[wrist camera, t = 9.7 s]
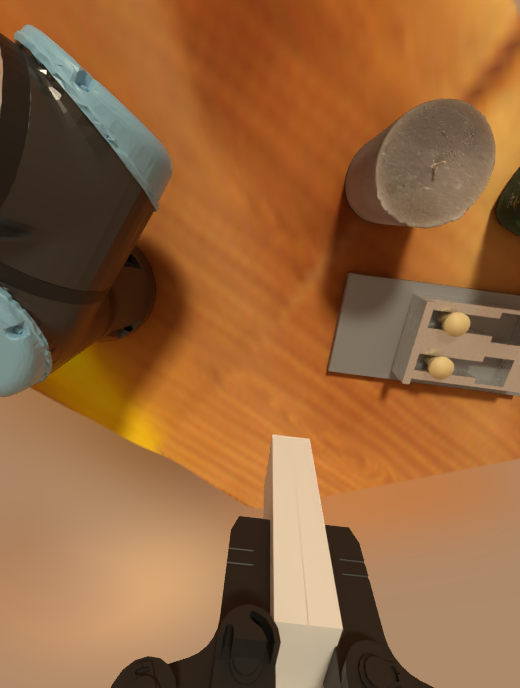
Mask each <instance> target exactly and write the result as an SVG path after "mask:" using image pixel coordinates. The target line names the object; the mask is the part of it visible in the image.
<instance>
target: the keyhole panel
mask: <svg viewBox="0 0 520 688" xmlns="http://www.w3.org/2000/svg"><path fill="white" fill-rule="evenodd" d="M433 310H438V311H445V312H461V313H463V314H468V315H475V316H483V317H490V318H498V319H500V317H501V314H502V313H509V314H516V315H520V308H515V307H508V306H500V305H493V304H485V303H478V302H470V301H463V300H455V299H447V298H440V297H432V296H425V295H417V294H413V297H412V301H411V304H410V308H409V311H408V314H407V318H406V321H405V325H404V328H403V332H402V335H401V338H400V342H399V345H398V349H397V352H396V355H395V359H394V362H393V366H392V369H391V370H392V371H393V373H394V374H395V375H396V376H397V378H398V379H399V380H400V382H401V383H403V384H410V381H411V379H419V380H426V381H434V382H442V383H449V384H457V385H464V386H472V387H480V388H487V389H495V390H503V391H510V392H518V393H520V317H519V319H518V322H517V324H516V326H515V329H514V331H513V334H512V336H511V338H510V341H509V340H502V339H494V338H492V337H493V336H491V335H489V334H487V333H485V332H483V331H478V330H470V329H468V331H467V332H466V333H465V334H463V335H461V336H458V337H453V336H450V335H448V334H447V333H445V332H444V330H443V328H442V326H440V325H432V324H429V322H430V319H431V316H432V313H433ZM419 354H426V355H433V356H445V357H449V358H456V359H464V360H471V361H479V362H483V360H484V357H493V358H500V359H502V360H501V362H500V365H499V367H498V369H497V372H496V374H495V376H494V379H493V380H491V379H483V378H475V377H474V376H473V375H472V374H470V373H469V372H468V371H463V370H455V369H454V371H453V373H452V374H451V375H450V376H449V377H448V378H445V379H441V380H439V379H435V378H434V377H432V376H431V375H430V374H429V372H428V366H425V365H417V364H416V362H417V359H418V356H419Z"/></svg>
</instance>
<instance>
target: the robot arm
mask: <svg viewBox="0 0 520 688" xmlns="http://www.w3.org/2000/svg"><path fill="white" fill-rule="evenodd" d="M14 41H15V43H14V42H12V41H11V40H9V39H8V38H7V37H5V36H4V35H2V34H1V33H0V396H2V397H6V396H11V395H14V394H17V393H19V392H21V391H23V390H25V389H27V388H28V387H30V386H32V385H35V384H37V383H40V382H41V381H43V380H45V379H46V377H47V376H48V375H50V374H51V373H52V372H53V371H55V370H56V369H58V368H59V367H61V366H62V365H63V364H65V363H66V362H68V361H69V360H70V359H72V358H73V357H75V356H76V355H77V354H79V353H80V352H82V351H83V350H85V349H86V348H87V347H89V346H90V345H92V344H93V343H94V342H103V341H112V340H116V339H120V338H123V337H125V336H127V335H129V334H131V333H132V332H133V331H135V330H136V329H137V328H138V327H140V326H141V325H142V324H143V323H144V322H145V321H146V320H147V318H148V317H149V315H150V313H151V311H152V309H153V306H154V302H155V296H156V287H155V280H154V275H153V272H152V270H151V267H150V265H149V263H148V261H147V259H146V258H145V256H144V255H143V254H142V252H141V251H140V250H139V249H138V248H137V247H136V246H135V244H136V243H137V241H138V239H139V237H140V235H141V234H142V232H143V230H144V228H145V226H146V224H147V223H148V221H149V219H150V217H151V215H152V214H153V212H154V211H157V210H158V206H159V203H158V202H159V200H160V198H161V196H162V194H163V192H164V190H165V188H166V186H167V184H168V181H169V179H170V177H171V174H172V163H171V158H170V156H169V154H168V152H167V150H166V148H165V147H164V146H163V144H162V143H161V142H160V141H159V140H158V139H157V138H156V137H155V136H154V135H153V134H152V133H151V132H150V131H149V130H148V129H147V127H146V126H145V125H144V124H143V123H142V122H141V121H139V120H138V119H137V118H136V117H135V116H134V115H133V114H132V113H131V112H130V111H129V110H128V109H127V108H126V107H125V106H124V105H123V104H122V103H121V102H120V101H119V100H118V99H117V98H116V97H114V96H113V95H112V94H111V93H110V92H109V91H108V90H107V89H106V88H105V87H104V86H102V85H101V84H100V83H99V82H98V81H96V80H94V79H93V78H92V77H91V75H90V74H89V73H88V72H87V71H86V70H84V69H83V68H82V67H81V66H80V65H79V64H78V63H77V62H76V61H75V60H74V59H73V58H72V57H71V56H70V55H69V54H67V53H66V52H65V51H64V50H63V49H62V48H61V47H60V46H58V45H57V44H56V43H55V42H54V41H53V40H51V39H50V38H49V37H48V36H46V35H45V34H44V33H43V32H41V31H40V30H39V29H37V28H35V27H34V26H32V25H25V26H24V27H23V28H22V29H21V31H16V32H15V35H14ZM323 687H324V688H433V687H432V686H429V685H428V684H426V683H423V682H422V681H420V680H418V679H417V678H415V677H414V676H412V675H411V674H409V672H407V671H406V670H405V669H404V668H403V667H402V666H401V665H400V664H399V662H398V661H397V660H396V659H395V657H394V656H393V654H392V652H391V650H390V649H389V647H388V645H387V642H386V639H385V636H384V633H383V629H382V625H381V622H380V618H379V615H378V611H377V607H376V603H375V600H374V596H373V592H372V589H371V585H370V581H369V579H368V574H367V570H366V566H365V564H364V559H363V555H362V552H361V548H360V544H359V542H358V541H357V539H356V538H355V536H354V535H353V533H352V532H351V530H350V529H349V528H348V527H338V526H330V525H325V524H324V518H323V513H322V507H321V501H320V495H319V490H318V484H317V478H316V472H315V467H314V461H313V455H312V449H311V444H310V439H306V438H297V437H289V436H280V435H272V441H271V447H270V454H269V460H268V466H267V473H266V479H265V485H264V517H263V519H259V518H250V517H241V516H239V518H238V519H237V521H236V523H235V524H234V526H233V528H232V529H231V535H230V543H229V551H228V559H227V566H226V574H225V583H224V590H223V598H222V606H221V614H220V621H219V625H218V629H217V631H216V633H215V635H214V637H213V639H212V640H211V641H210V643H209V644H208V645H207V647H205V648H204V649H203V650H202V651H200V652H199V653H197V654H195V655H193V656H191V657H189V658H186V659H183V660H180V661H176V662H173V663H170V664H167V663H165V662H164V661H163V660H162V659H160V658H155V657H149V656H148V657H144V658H141V659H138V660H135V661H134V662H132V663H131V664H130V665H128V666H127V667H126V668H125V669H123V670H122V672H121V673H120V675H119V676H118V677H117V679H116V680H115V681H114V683H113V684H112V686H111V688H323Z"/></svg>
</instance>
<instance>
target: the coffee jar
mask: <svg viewBox="0 0 520 688" xmlns="http://www.w3.org/2000/svg"><path fill="white" fill-rule="evenodd" d="M496 216H497V219H498V221H499V222H500V224H501V225H502V226H504V227H505V228H506V229H508V230H509V231H511V232H512V233H514V234H516V235H519V236H520V168H519V169H518V170H517V172H516V173H515V174H514V176H513V177H512V179H511V180H510V182H509V183H508V185H507V186H506V188H505V190H504V191H503V193H502V195H501V197H500V199H499V201H498V203H497V207H496Z"/></svg>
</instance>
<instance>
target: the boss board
mask: <svg viewBox="0 0 520 688" xmlns="http://www.w3.org/2000/svg"><path fill="white" fill-rule="evenodd" d="M413 294H417V295H425V296H432V297H440V298H447V299H455V300H463V301H470V302H478V303H485V304H493V305H500V306H508V307H515V308H520V295H515V294H508V293H500V292H493V291H485V290H478V289H470V288H463V287H455V286H448V285H440V284H433V283H425V282H418V281H410V280H403V279H395V278H388V277H380V276H373V275H365V274H358V273H350V272H348V274H347V279H346V284H345V288H344V293H343V297H342V302H341V307H340V311H339V316H338V320H337V325H336V330H335V334H334V339H333V343H332V348H331V353H330V357H329V362H328V366H327V368H328V371H331V372H339V373H347V374H354V375H362V376H370V377H377V378H385V379H392V380H399V379H398V378H397V376H396V375H395V374H394V373H393V371H392V370H391V369H392V366H393V362H394V359H395V355H396V352H397V349H398V345H399V342H400V338H401V335H402V332H403V328H404V325H405V321H406V318H407V314H408V311H409V308H410V304H411V301H412V297H413ZM519 317H520V315H516V314H509V313H502V314H501V317H500V319H498V318H490V317H483V316H475V315H468V314H463V313H461V312H445V311H438V310H433V313H432V316H431V319H430V322H429V324H432V325H440V326H442V328H443V330H444V332H445V333H447V334H448V335H450V336H453V337H458V336H461V335H463V334H465V333H466V332H467V331H468V329H470V330H478V331H483V332H485V333H487V334H489V335H491V336H493V337H492V338H494V339H502V340H509V341H510V338H511V336H512V334H513V331H514V329H515V326H516V324H517V322H518V319H519ZM501 360H502V359H500V358H493V357H484V360H483V362H479V361H471V360H464V359H456V358H449V357H445V356H433V355H426V354H419V356H418V359H417V362H416V364H417V365H425V366H428V372H429V374H430V375H431V376H432V377H434V378H435V379H439V380H441V379H445V378H448V377H449V376H450V375H451V374H452V373H453V371H454V369H455V370H463V371H468V372H469V373H470V374H472V375H473V376H474V377H475V378H483V379H491V380H493V379H494V376H495V374H496V372H497V369H498V367H499V365H500V362H501ZM410 382H415V383H423V384H431V385H438V386H446V387H454V388H461V389H469V390H476V391H484V392H492V393H499V394H507V395H515V396H520V393H518V392H510V391H503V390H495V389H487V388H480V387H472V386H464V385H457V384H449V383H442V382H434V381H426V380H419V379H411V381H410Z"/></svg>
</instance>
